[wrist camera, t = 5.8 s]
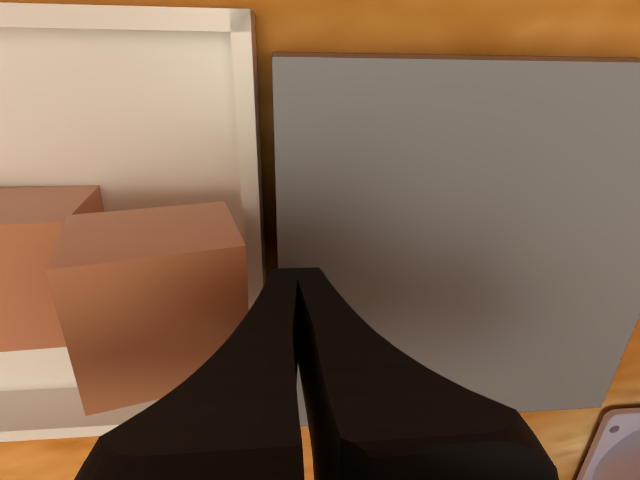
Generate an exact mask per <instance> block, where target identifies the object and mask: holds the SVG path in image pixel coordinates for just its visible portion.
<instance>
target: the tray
mask: <svg viewBox="0 0 640 480" xmlns="http://www.w3.org/2000/svg"><path fill="white" fill-rule="evenodd" d="M92 185H99V187H100V192H101V197H102V201H103V206H104V211H105V212H108V211H120V210H131V209H143V208H154V207H166V206H177V205H189V204H200V203H212V202H223V201H225V203H226V205H227V207H228V209H229V211H230V213H231V215H232V217H233V220H234V222H235V224H236V226H237V228H238V230H239V232H240V234H241V236H242V238H243V240H244V242H245V244H246V253H247V279H248V305H249V310H250V308H251V307H252V305H253V303H254V302H255V300H256V298H257V297H258V295H259V293H260V292H261V290H262V288H263V286H264V284H265V282H266V259H265V236H264V212H263V189H262V165H261V142H260V119H259V95H258V72H257V49H256V25H255V13H254V12H253V11H252V10H251V9H231V8H192V7H153V6H115V5H76V4H38V3H0V188H4V187H48V186H92ZM158 400H159V399H158ZM158 400H154V401H150V402H145V403H141V404H137V405H132V406H128V407H124V408H119V409H115V410H111V411H106V412H102V413H98V414H93V415H89V416H85V412H84V408H83V405H82V401H81V398H80V394H79V390H78V387H77V383H76V379H75V376H74V372H73V368H72V365H71V361H70V357H69V354H68V350H67V347H59V348H46V349H34V350H21V351H9V352H0V442H7V441H23V440H39V439H55V438H71V437H87V436H101V435H103V434H105V433H107V432H109V431H110V430H112V429H114V428H115V427H117V426H119V425H120V424H122V423H123V422H125V421H127V420H128V419H130V418H132V417H133V416H135V415H136V414H138V413H140V412H141V411H143V410H145V409H146V408H148V407H149V406H151V405H152V404H154V403H155V402H157V401H158Z"/></svg>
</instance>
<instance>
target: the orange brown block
mask: <svg viewBox="0 0 640 480" xmlns="http://www.w3.org/2000/svg"><path fill="white" fill-rule="evenodd" d="M46 274H47V277H48V281H49V285H50V288H51V292H52V295H53V299H54V303H55V306H56V310H57V314H58V317H59V321H60V325H61V328H62V332H63V336H64V339H65V343H66V347H67V350H68V354H69V357H70V361H71V365H72V368H73V372H74V376H75V379H76V383H77V387H78V390H79V394H80V398H81V401H82V405H83V408H84V412H85V416H89V415H93V414H98V413H102V412H106V411H111V410H115V409H119V408H124V407H128V406H132V405H137V404H141V403H145V402H150V401H154V400H158V399H161V398H162V397H164V396H165V395H166V394H168V393H169V392H171V391H172V390H173V389H174V388H176V387H177V386H178V385H180V384H181V383H182V382H184V381H185V380H186V379H187V378H188V377H190V376H191V375H192V374H193V373H194V372H195V371H196V370H197V369H198V368H199V367H201V366H202V365H203V364H204V363H205V362H206V361H207V360H208V359H209V358H210V357H211V356H212V355H213V354H214V353H215V352H216V351H217V350H218V349H219V348H220V347H221V346H222V344H223V343H224V342H225V341H226V340H227V339H228V338H229V336H230V335H231V334H232V333H233V332H234V330H235V329H236V328H237V326H238V325H239V324H240V322H241V321H242V320H243V318H244V317H245V315H246V314H247V313H248V311H249V305H248V279H247V253H246V244H245V242H244V240H243V238H242V236H241V234H240V232H239V230H238V228H237V226H236V224H235V222H234V220H233V217H232V215H231V213H230V211H229V209H228V207H227V205H226V203H225V201H223V202H212V203H200V204H189V205H177V206H166V207H154V208H143V209H131V210H120V211H108V212H97V213H85V214H74V215H68V216H67V218H66V221H65V223H64V226H63V228H62V231H61V233H60V236H59V238H58V241H57V243H56V246H55V248H54V251H53V253H52V256H51V258H50V261H49V263H48V266H47V268H46Z"/></svg>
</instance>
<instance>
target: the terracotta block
mask: <svg viewBox="0 0 640 480" xmlns="http://www.w3.org/2000/svg"><path fill="white" fill-rule="evenodd" d="M97 212H105V211H104V206H103V201H102V197H101V192H100V187H99V185H92V186H48V187H4V188H0V352H9V351H21V350H34V349H46V348H59V347H66V343H65V339H64V336H63V332H62V328H61V325H60V321H59V317H58V314H57V310H56V306H55V303H54V299H53V295H52V292H51V288H50V285H49V281H48V277H47V274H46V268H47V266H48V263H49V261H50V258H51V256H52V253H53V251H54V248H55V246H56V243H57V241H58V238H59V236H60V233H61V231H62V228H63V226H64V223H65V221H66V218H67V216H68V215H74V214H85V213H97Z"/></svg>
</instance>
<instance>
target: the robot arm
mask: <svg viewBox="0 0 640 480" xmlns="http://www.w3.org/2000/svg"><path fill="white" fill-rule="evenodd" d="M298 366H299V372H300V378H301V385H302V391H303V397H304V402H305V408H306V414H307V420H308V426H309V432H310V439H311V447H312V455H313V469H314V480H559V477H558V473H557V468H556V467H555V465H554V464H553V462H552V461H551V459H550V458H549V456H548V454H547V453H546V451H545V450H544V448H543V446H542V445H541V443H540V442H539V440H538V439H537V437H536V436H535V434H534V433H533V431H532V430H531V429H530V427H529V426H528V425H527V423H526V422H525V421H524V420H523V418H522V417H521V416H520V414H519V413H518V411H517V410H516V409H513V408H511V407H509V406H506V405H504V404H502V403H499V402H497V401H494V400H492V399H490V398H487V397H485V396H483V395H480V394H478V393H476V392H473V391H471V390H469V389H467V388H465V387H463V386H461V385H459V384H457V383H455V382H453V381H451V380H449V379H447V378H445V377H443V376H441V375H439V374H438V373H436V372H434V371H432V370H431V369H429V368H427V367H425V366H424V365H422V364H421V363H419V362H417V361H416V360H414V359H413V358H411V357H410V356H408V355H407V354H405V353H404V352H402V351H401V350H399V349H398V348H396V347H395V346H394V345H392V344H391V343H390V342H389V341H387V340H386V339H385V338H383V337H382V336H381V335H380V334H378V333H377V332H376V331H375V330H374V329H373V328H371V327H370V326H369V325H368V324H367V323H366V322H365V321H364V320H363V319H362V318H361V317H360V316H359V315H358V314H357V313H356V312H355V311H354V310H353V309H352V308H351V306H350V305H349V304H348V303H347V302H346V301H345V300H344V299H343V297H342V296H341V295H340V294H339V293H338V291H337V290H336V289H335V288H334V286H333V285H332V284H331V282H330V281H329V280H328V278H327V277H326V275H325V274H324V273H323V271H322V270H321V269H320V268H319V267H313V268H278V269H272V270H271V271H270V272H269V274H268V277H267V279H266V282H265V284H264V286H263V288H262V290H261V292H260V293H259V295H258V297H257V298H256V300H255V302H254V303H253V305H252V307H251V308H250V310H249V311H248V313H247V314H246V315H245V317H244V318H243V320H242V321H241V322H240V324H239V325H238V326H237V328H236V329H235V330H234V332H233V333H232V334H231V335H230V336H229V338H228V339H227V340H226V341H225V342H224V343H223V344H222V346H221V347H220V348H219V349H218V350H217V351H216V352H215V353H214V354H213V355H212V356H211V357H210V358H209V359H208V360H207V361H206V362H205V363H204V364H203V365H202V366H201V367H199V368H198V369H197V370H196V371H195V372H194V373H193V374H192V375H191V376H190V377H188V378H187V379H186V380H185V381H184V382H182V383H181V384H180V385H178V386H177V387H176V388H174V389H173V390H172V391H171V392H169V393H168V394H166V395H165V396H164V397H162V398H161V399H159V400H158V401H157V402H155V403H154V404H152V405H151V406H149V407H148V408H146V409H145V410H143V411H141V412H140V413H138V414H136V415H135V416H133V417H132V418H130V419H128V420H127V421H125V422H123V423H122V424H120V425H119V426H117V427H115V428H114V429H112V430H110V431H109V432H107V433H105V434H103V435H101V436H100V437H99V438H98V440H97V442H96V444H95V445H94V447H93V449H92V450H91V452H90V454H89V455H88V457H87V459H86V460H85V462H84V463H83V465H82V467H81V469H80V470H79V472H78V474H77V476H76V477H75V479H74V480H304V465H303V449H302V438H301V429H300V419H299V409H298V399H297V370H298ZM576 480H640V408H624V409H613V410H610V411H608V412H607V413H606V414H605V415H604V417H603V419H602V421H601V424H600V426H599V428H598V431H597V433H596V435H595V438H594V440H593V442H592V445H591V447H590V449H589V452H588V454H587V456H586V459H585V461H584V463H583V465H582V468H581V470H580V472H579V475H578V477H577V479H576Z"/></svg>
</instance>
